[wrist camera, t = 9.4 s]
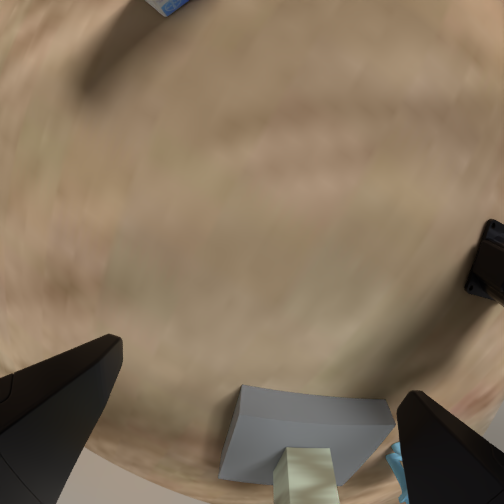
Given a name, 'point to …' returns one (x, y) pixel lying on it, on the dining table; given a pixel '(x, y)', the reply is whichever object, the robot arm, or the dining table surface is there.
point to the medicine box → (166, 5)
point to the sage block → (305, 477)
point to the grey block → (300, 432)
